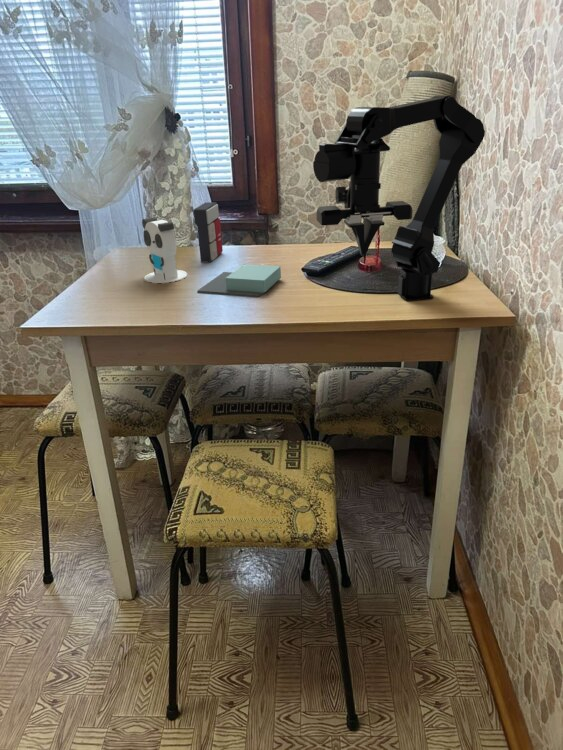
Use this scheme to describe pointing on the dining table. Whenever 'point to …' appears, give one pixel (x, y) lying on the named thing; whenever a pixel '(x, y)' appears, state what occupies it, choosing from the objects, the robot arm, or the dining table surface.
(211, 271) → the dining table surface
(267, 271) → the board
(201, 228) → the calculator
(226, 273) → the mat
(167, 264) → the panda figurine
